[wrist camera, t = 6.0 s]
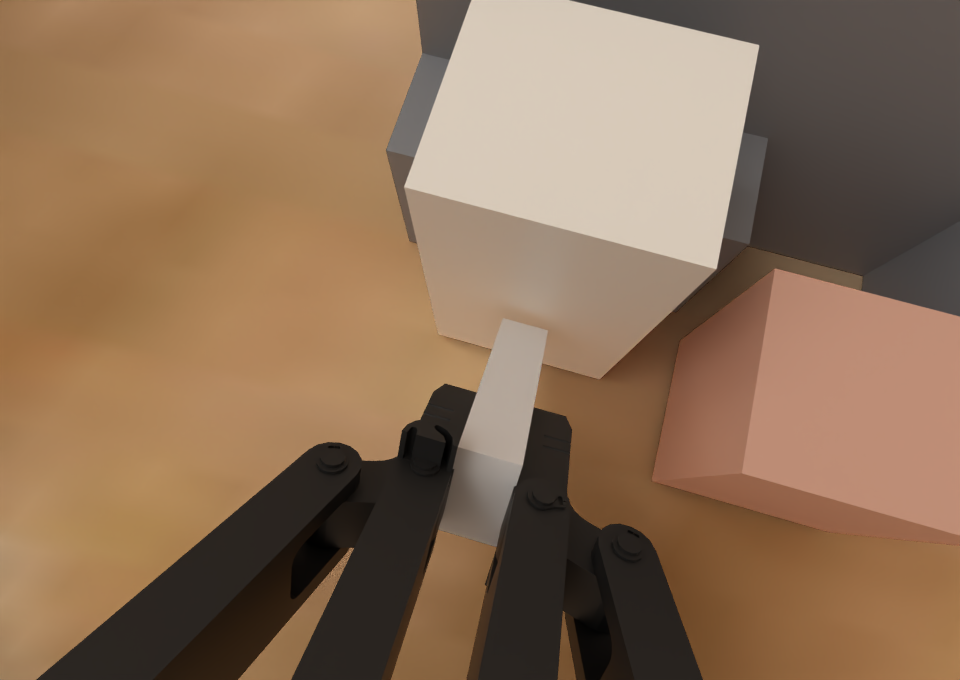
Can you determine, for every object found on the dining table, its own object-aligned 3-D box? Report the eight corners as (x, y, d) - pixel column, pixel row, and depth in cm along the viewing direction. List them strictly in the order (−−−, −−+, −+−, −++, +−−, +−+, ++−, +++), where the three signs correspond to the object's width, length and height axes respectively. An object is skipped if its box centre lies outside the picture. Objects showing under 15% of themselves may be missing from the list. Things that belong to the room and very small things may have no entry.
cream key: (438, 334, 24) (404, 186, 13) (477, 210, 26) (479, -22, 14) (599, 379, 24) (716, 269, 12) (629, 250, 25) (759, 44, 14)
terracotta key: (651, 481, 23) (741, 473, 15) (679, 340, 24) (774, 268, 17) (828, 532, 22) (1014, 551, 15) (845, 385, 24) (1022, 332, 16)
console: (409, 240, 26) (329, -68, 12) (482, 29, 29) (490, -419, 15) (905, 374, 24) (1498, 207, 10) (927, 136, 27) (1407, -245, 13)
